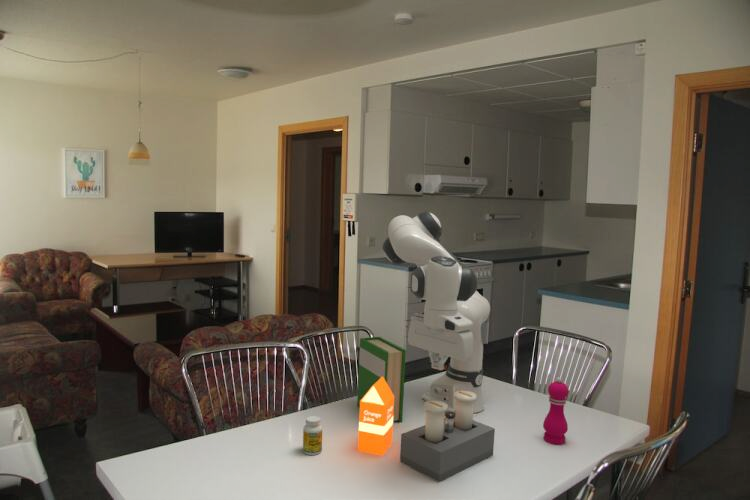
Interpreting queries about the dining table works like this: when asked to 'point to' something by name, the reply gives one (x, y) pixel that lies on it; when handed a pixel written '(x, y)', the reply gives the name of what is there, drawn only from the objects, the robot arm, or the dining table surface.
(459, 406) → the cream lidded cup
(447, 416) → the small glass shaker
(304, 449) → the supplement bottle
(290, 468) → the dining table surface
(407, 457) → the mount
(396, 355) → the hardback book
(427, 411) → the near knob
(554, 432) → the pepper mill
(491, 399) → the dining table surface
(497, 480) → the dining table surface
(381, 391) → the orange juice
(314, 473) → the dining table surface
